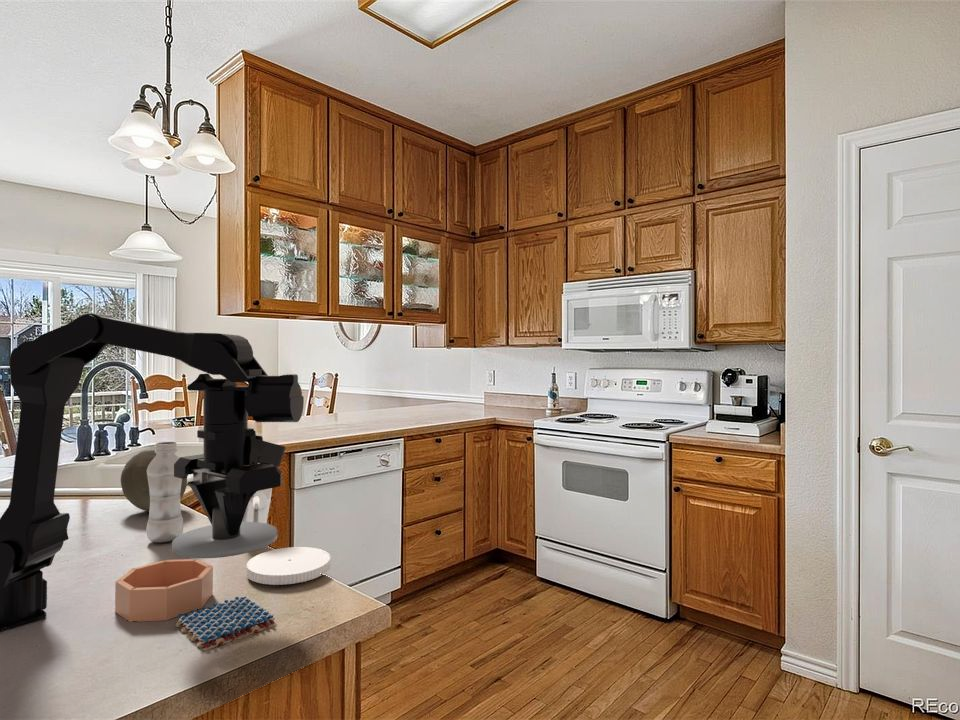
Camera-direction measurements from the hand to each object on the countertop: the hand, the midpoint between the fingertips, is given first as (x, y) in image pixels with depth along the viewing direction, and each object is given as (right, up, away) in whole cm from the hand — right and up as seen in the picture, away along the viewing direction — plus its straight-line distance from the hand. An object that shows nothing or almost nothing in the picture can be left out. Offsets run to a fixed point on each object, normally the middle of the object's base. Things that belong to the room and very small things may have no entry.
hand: (226, 532), depth 80 cm
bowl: (-12, -13, +6) cm, 19 cm away
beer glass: (-10, -13, +35) cm, 39 cm away
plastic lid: (+2, -14, +19) cm, 24 cm away
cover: (0, -1, 0) cm, 1 cm away
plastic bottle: (-28, -13, +35) cm, 47 cm away
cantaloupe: (-43, -12, +56) cm, 71 cm away
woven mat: (0, -14, -1) cm, 14 cm away
